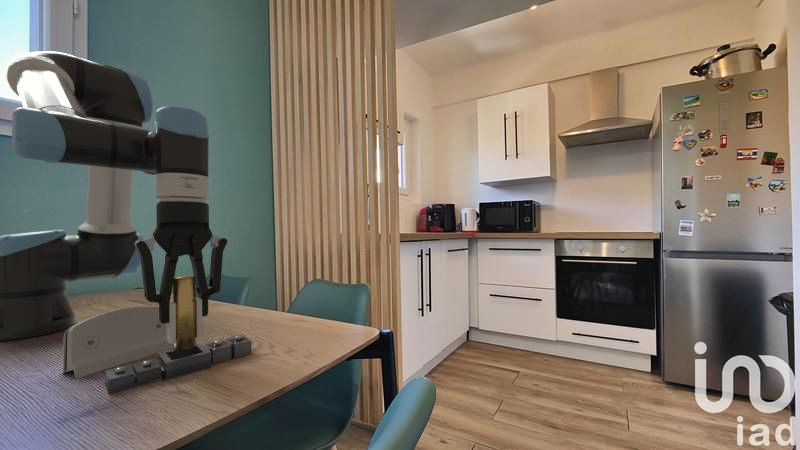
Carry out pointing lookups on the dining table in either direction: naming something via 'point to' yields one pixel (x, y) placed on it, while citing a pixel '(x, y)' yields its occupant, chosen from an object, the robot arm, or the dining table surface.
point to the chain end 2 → (207, 353)
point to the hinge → (113, 340)
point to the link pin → (185, 312)
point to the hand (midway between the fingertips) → (184, 338)
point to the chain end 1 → (146, 373)
